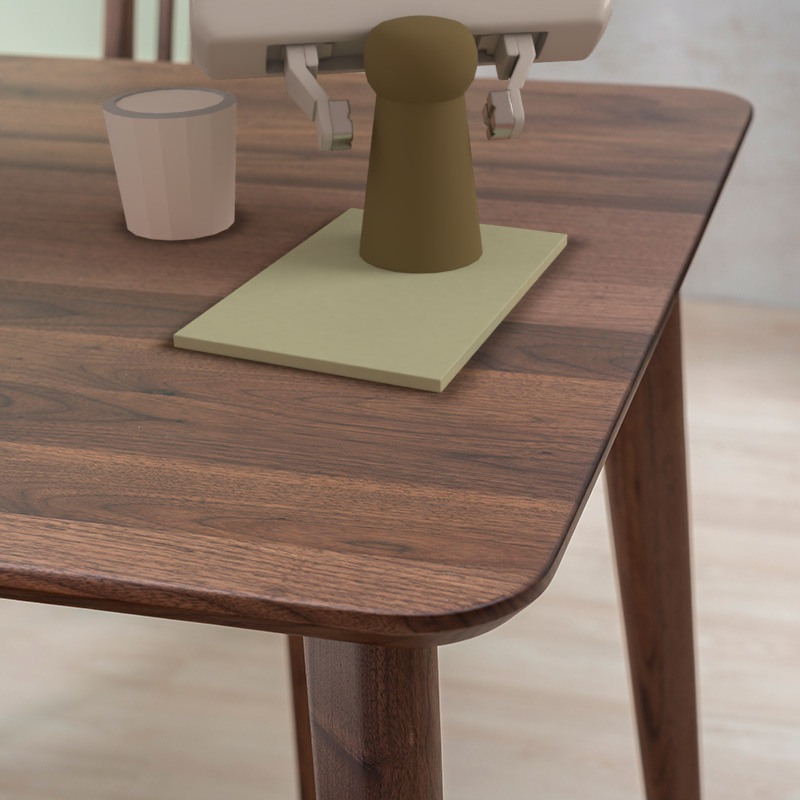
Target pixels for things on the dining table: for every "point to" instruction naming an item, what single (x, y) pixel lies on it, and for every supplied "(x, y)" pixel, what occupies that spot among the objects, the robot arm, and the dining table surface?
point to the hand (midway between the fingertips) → (422, 139)
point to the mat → (373, 308)
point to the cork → (420, 148)
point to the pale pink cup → (174, 160)
